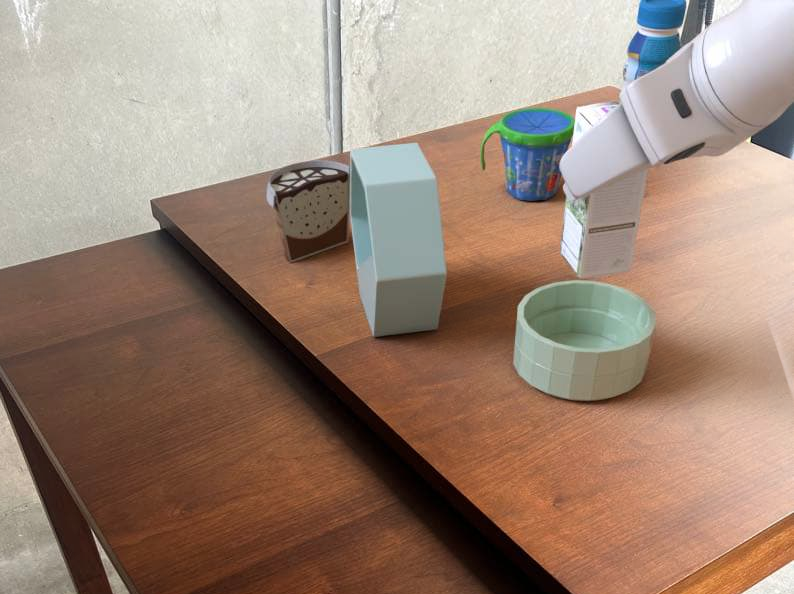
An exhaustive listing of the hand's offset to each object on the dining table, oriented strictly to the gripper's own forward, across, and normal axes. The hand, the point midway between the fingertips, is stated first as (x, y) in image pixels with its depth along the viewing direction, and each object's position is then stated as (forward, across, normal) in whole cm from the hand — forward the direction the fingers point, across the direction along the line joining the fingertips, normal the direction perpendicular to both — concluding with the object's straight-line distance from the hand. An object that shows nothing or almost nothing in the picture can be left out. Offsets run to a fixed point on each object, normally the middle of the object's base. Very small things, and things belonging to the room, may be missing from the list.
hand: (601, 179), depth 82 cm
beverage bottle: (+40, -56, -10) cm, 70 cm away
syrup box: (+6, 0, +6) cm, 9 cm away
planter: (+30, +7, -1) cm, 31 cm away
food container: (+46, +5, -16) cm, 48 cm away
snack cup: (+39, -30, -9) cm, 49 cm away
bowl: (+14, 0, +15) cm, 21 cm away
